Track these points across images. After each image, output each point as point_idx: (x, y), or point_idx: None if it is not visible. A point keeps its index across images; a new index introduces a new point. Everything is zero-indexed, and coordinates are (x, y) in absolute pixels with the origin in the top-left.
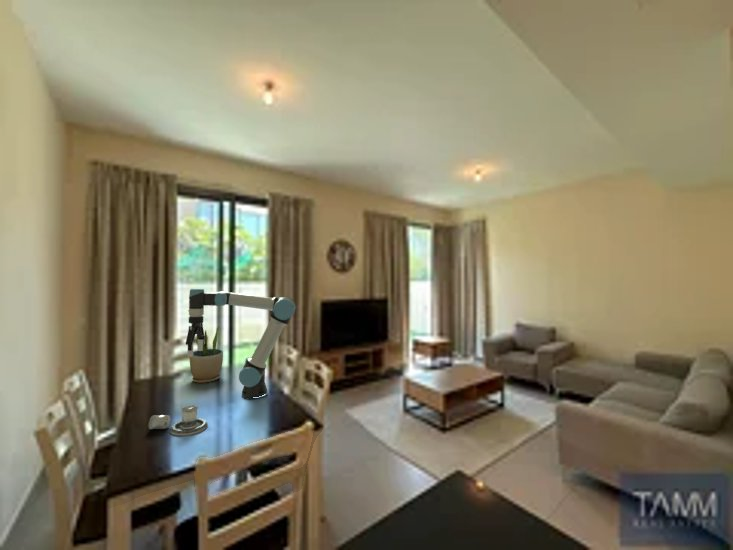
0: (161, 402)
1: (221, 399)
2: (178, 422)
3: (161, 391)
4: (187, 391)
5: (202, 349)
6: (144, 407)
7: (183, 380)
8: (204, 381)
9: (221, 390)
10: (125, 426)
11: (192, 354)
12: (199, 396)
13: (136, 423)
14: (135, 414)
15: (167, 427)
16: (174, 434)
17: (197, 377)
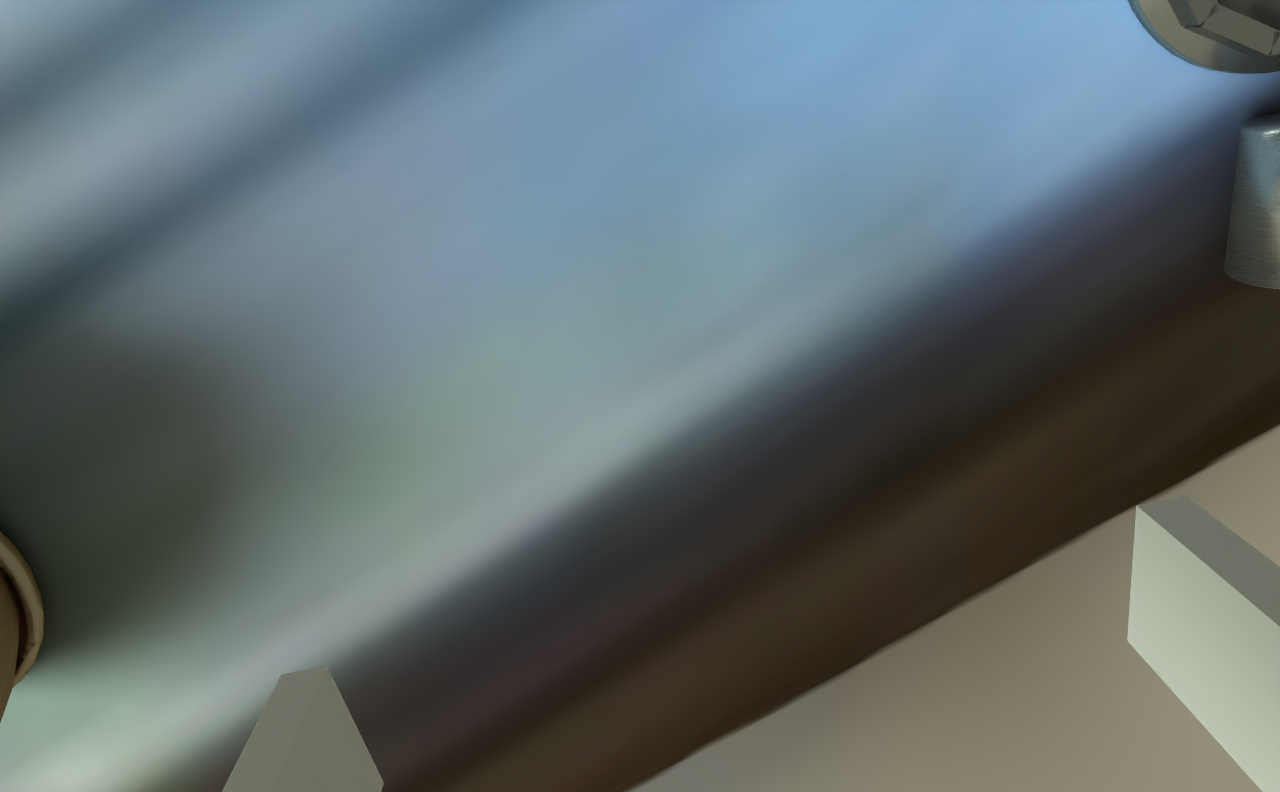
0: (652, 566)
1: (417, 4)
2: (1266, 30)
3: (401, 731)
4: (316, 536)
5: (280, 709)
6: (783, 612)
7: (51, 754)
8: (2, 540)
9: (126, 196)
10: (1169, 485)
11: (1238, 541)
12: (408, 334)
13: (1117, 449)
14: (933, 576)
15: (1272, 115)
16: None
17: (12, 638)
